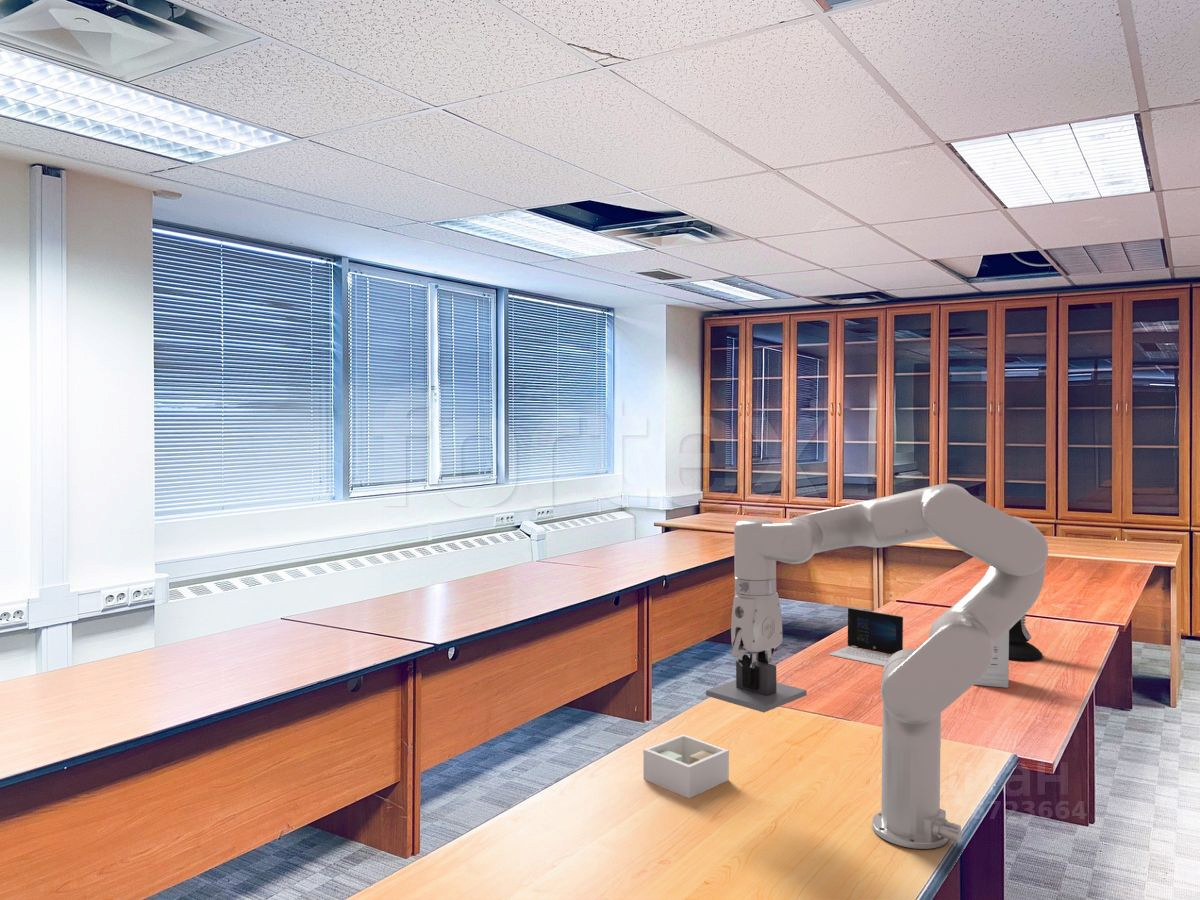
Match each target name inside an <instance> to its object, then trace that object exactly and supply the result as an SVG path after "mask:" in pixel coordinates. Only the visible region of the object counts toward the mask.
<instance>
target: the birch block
mask: <svg viewBox="0 0 1200 900" xmlns="http://www.w3.org/2000/svg"><path fill="white" fill-rule="evenodd" d="M711 755H713V754H711V753H708V752H705V751H700V752H698V753H695V754H693V755H691V756H690V764H692V763H694V762H697V761H699V760H701V759H704V758H706V757H709V756H711Z"/></svg>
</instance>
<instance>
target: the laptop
mask: <svg viewBox="0 0 1200 900" xmlns="http://www.w3.org/2000/svg"><path fill="white" fill-rule="evenodd" d="M900 650H904V616H902V615H895V614H888V613H883V612H877V611H871V610H865V609H860V608H853V607H848V608H847V646H845V647H843V648H840V649H838V650H834V651H832V652H831V653H829V654H828V655H829V656H833V657H837V658H841V659H846V660H852V661H856V662H861V663H867V664H870V665H871V664H872V665H876V666H880V667H884V666H885V664H886V662H887V660H888V659H889V658H890V657H891V656H892V655H893V654H894V653H896V652H898V651H900Z"/></svg>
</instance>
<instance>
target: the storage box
mask: <svg viewBox="0 0 1200 900" xmlns="http://www.w3.org/2000/svg"><path fill="white" fill-rule="evenodd" d="M667 750H669V751H671V752H674V753H676V754H679V755H682V756H683V762H680V761H677V760H675V759H672V758H670V757H667V756H665V755H662V754H659V753H662V752H664V751H667ZM700 751H705V752H708V753H711V754H713V755H711V756H709V757H706V758H704V759H701V760H699V761H697V762H694V763H692V764H690V756H691V755H693V754H695V753H698V752H700ZM729 751H730V750H729V749H726V748H723V747H720V746H718V745H715V744H711V743H709V742H706V741H704V740H700V739H698V738H695V737H692V736H690V735H687V734H684V733H683V734H680V735H678V736H674V737H672V738H670V739H667V740H665V741H662V742H659V743H657V744H654V745H652V746H648V747H647V748H644V749H643V780H645V781H647V782H650V783H652V784H654V785H657V786H659V787H661V788H664V789H665V790H668V791H671V792H673V793H676V794H678V795H679V796H682V797H685V798H687V799H692V798H693V797H695V796H698V795H699V794H702V793H704V792H706V791H708V790H710V789H712V788H714V787H717V786H719V785H721V784H723V783H725V782H727V781H729V780H730V775H729V773H730V769H729V768H730V766H729V765H730V764H729V763H730V761H729V760H730V755H729V754H730V752H729Z"/></svg>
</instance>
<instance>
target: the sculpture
mask: <svg viewBox="0 0 1200 900" xmlns="http://www.w3.org/2000/svg"><path fill="white" fill-rule="evenodd" d="M1026 615H1027V613H1026V614H1025V615H1024V616H1023V617H1022V618H1021V619H1020V620H1019V621H1018V622H1017V623H1016V624H1015V625H1014V626H1013V627H1012V628H1011V629H1010V630H1009V661H1015V662H1036V661H1039V660H1042V659H1043V653H1042V651H1041V650H1039V648H1037V647H1036V646H1035V645H1033V644H1031V643H1030V642H1029V641H1030V640H1031V639H1032V636H1031V634H1030V633H1029V631H1028V629H1027V627H1026V622H1025V621H1026V617H1027V616H1026Z"/></svg>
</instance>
